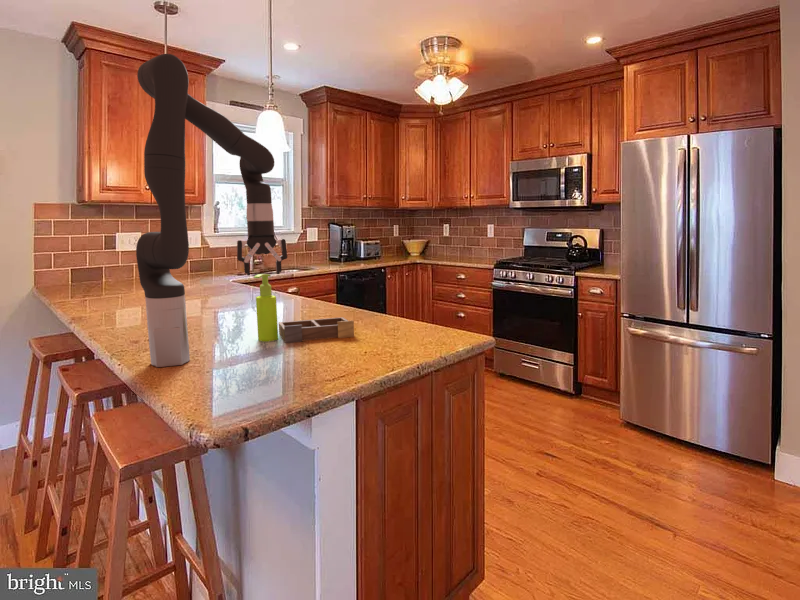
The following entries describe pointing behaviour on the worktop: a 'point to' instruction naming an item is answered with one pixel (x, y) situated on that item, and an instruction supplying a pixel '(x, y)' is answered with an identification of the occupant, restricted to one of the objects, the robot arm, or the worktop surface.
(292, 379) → the worktop surface
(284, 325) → the dock
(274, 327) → the soap dispenser
